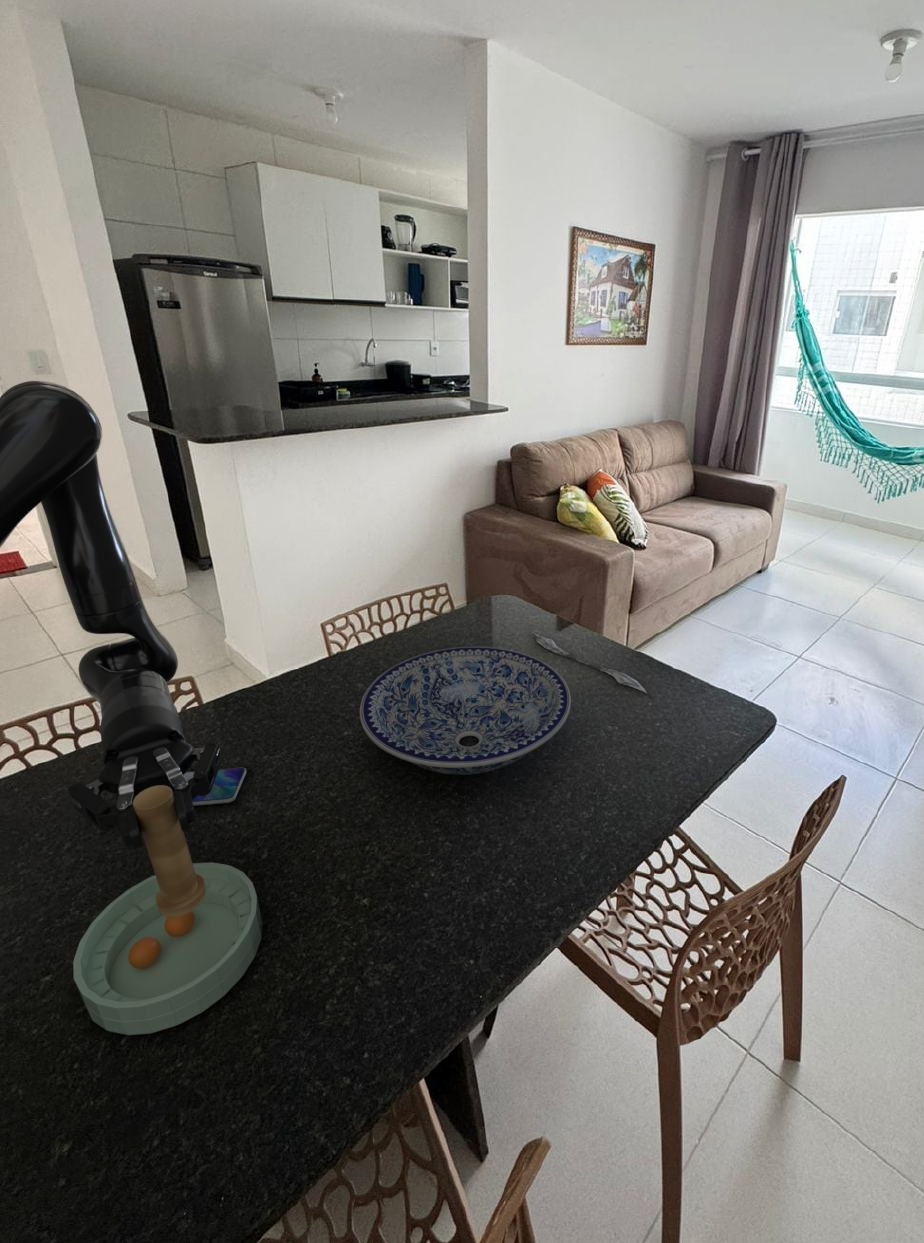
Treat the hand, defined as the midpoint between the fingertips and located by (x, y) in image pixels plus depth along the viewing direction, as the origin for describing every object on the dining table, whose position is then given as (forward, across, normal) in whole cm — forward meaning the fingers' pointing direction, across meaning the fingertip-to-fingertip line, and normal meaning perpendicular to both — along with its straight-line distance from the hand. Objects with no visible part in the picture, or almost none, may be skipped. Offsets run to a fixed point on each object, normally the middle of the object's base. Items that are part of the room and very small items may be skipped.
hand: (161, 831), depth 59 cm
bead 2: (-9, -1, +21) cm, 23 cm away
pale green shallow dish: (-6, -2, +23) cm, 24 cm away
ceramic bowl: (-21, +43, +24) cm, 54 cm away
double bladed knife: (-31, +76, +24) cm, 86 cm away
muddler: (-3, 0, +12) cm, 12 cm away
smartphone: (-34, +3, +23) cm, 41 cm away
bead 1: (-7, -5, +21) cm, 23 cm away
